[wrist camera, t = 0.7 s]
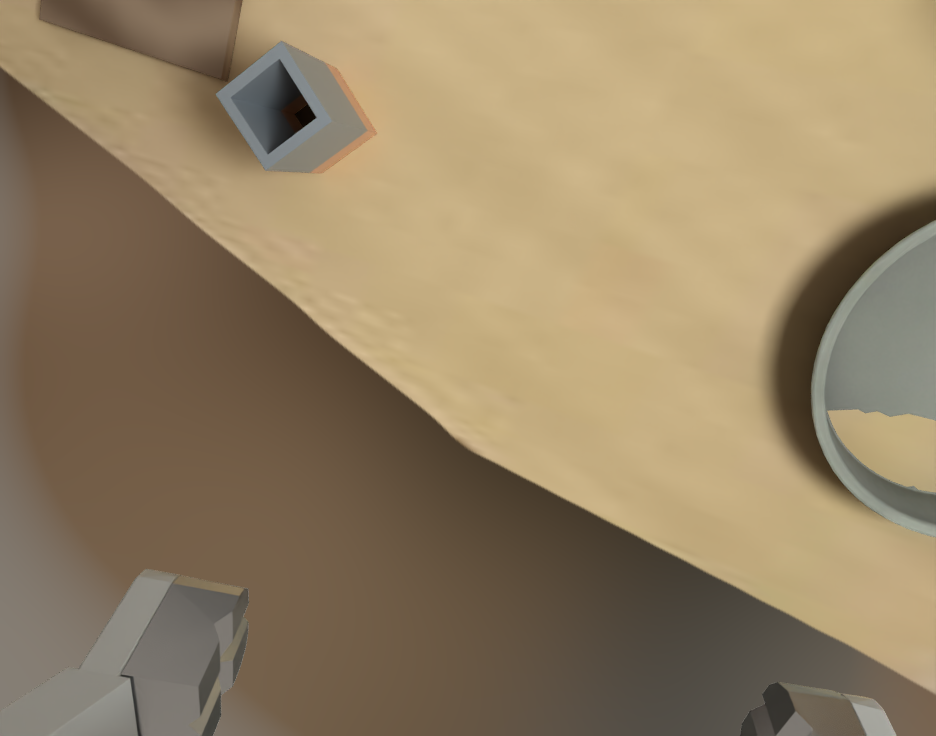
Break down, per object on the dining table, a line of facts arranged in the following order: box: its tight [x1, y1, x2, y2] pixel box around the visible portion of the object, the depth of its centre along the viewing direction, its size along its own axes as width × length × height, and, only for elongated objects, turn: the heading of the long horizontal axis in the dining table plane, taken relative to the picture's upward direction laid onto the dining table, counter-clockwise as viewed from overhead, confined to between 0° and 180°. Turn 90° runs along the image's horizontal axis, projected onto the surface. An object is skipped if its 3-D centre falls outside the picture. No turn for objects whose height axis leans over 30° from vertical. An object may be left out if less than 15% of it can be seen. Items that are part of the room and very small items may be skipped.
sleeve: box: [216, 41, 377, 173], centre depth 45 cm, size 5×5×10 cm
